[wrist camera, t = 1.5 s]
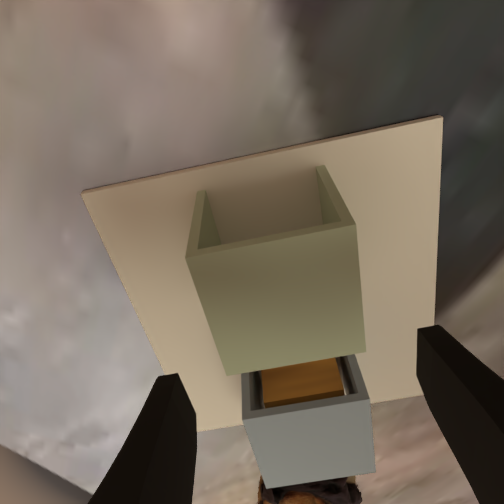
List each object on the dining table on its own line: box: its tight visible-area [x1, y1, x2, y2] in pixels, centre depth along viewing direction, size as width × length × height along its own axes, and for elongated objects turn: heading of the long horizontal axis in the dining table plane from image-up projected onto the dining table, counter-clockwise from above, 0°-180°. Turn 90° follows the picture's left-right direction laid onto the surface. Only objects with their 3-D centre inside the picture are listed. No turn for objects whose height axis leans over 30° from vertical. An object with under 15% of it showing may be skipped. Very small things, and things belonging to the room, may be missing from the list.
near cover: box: [185, 165, 366, 376], centre depth 18 cm, size 6×6×6 cm
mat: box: [80, 115, 443, 432], centre depth 23 cm, size 18×16×1 cm
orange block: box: [261, 357, 345, 409], centre depth 23 cm, size 4×4×4 cm
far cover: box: [241, 354, 376, 489], centre depth 22 cm, size 6×6×6 cm
